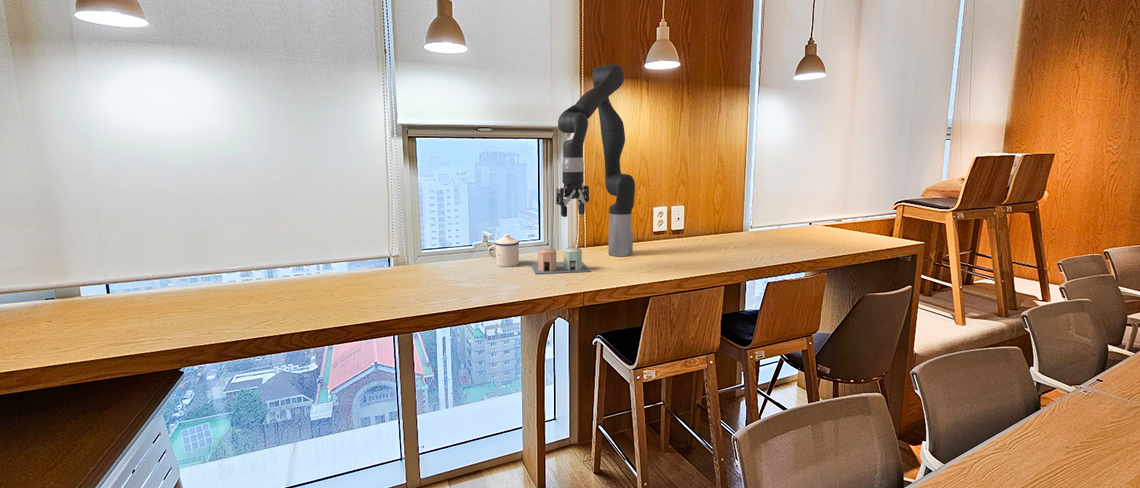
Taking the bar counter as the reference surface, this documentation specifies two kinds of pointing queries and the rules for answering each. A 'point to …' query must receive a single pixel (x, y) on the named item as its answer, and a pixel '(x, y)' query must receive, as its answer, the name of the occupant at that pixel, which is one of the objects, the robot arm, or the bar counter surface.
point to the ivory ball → (572, 264)
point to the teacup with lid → (506, 251)
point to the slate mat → (558, 269)
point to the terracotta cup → (547, 259)
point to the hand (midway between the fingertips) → (572, 215)
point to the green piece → (573, 258)
